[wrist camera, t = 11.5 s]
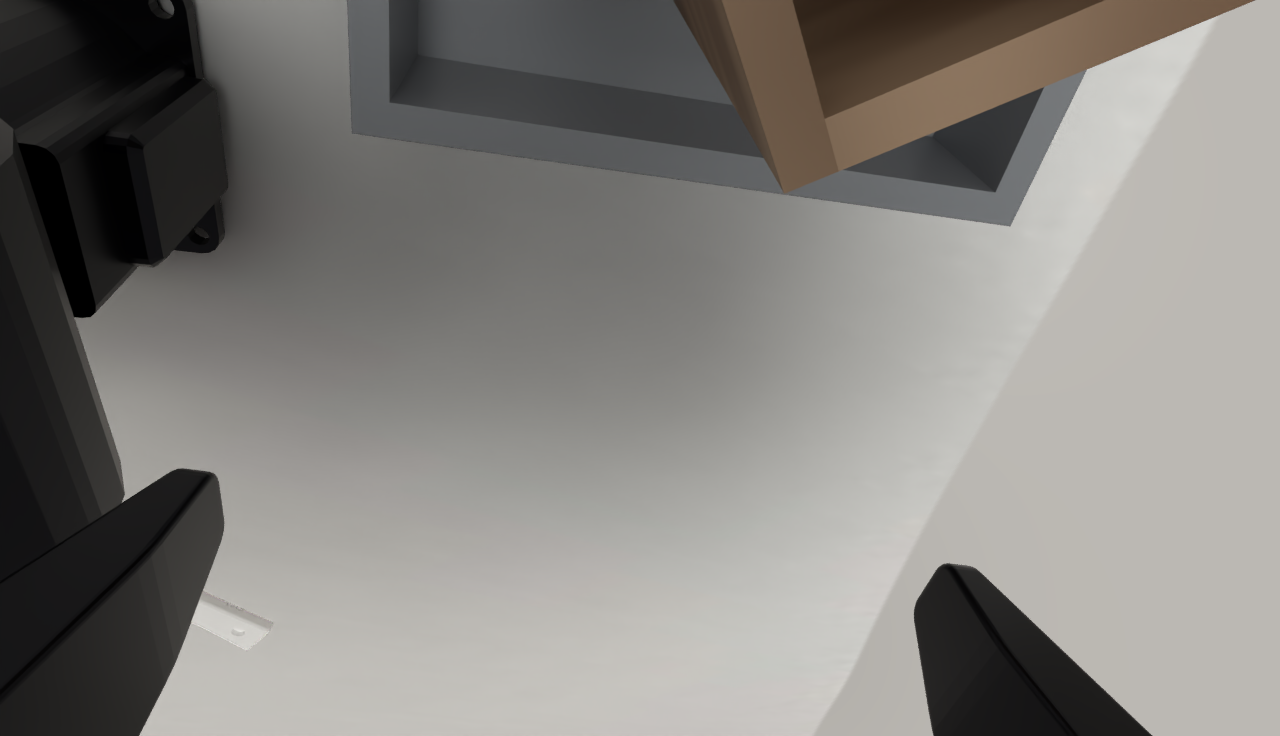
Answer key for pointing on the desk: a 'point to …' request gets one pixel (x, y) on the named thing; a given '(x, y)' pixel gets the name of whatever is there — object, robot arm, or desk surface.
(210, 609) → the white angle bracket
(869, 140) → the walnut crate
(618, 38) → the tray
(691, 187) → the desk surface
